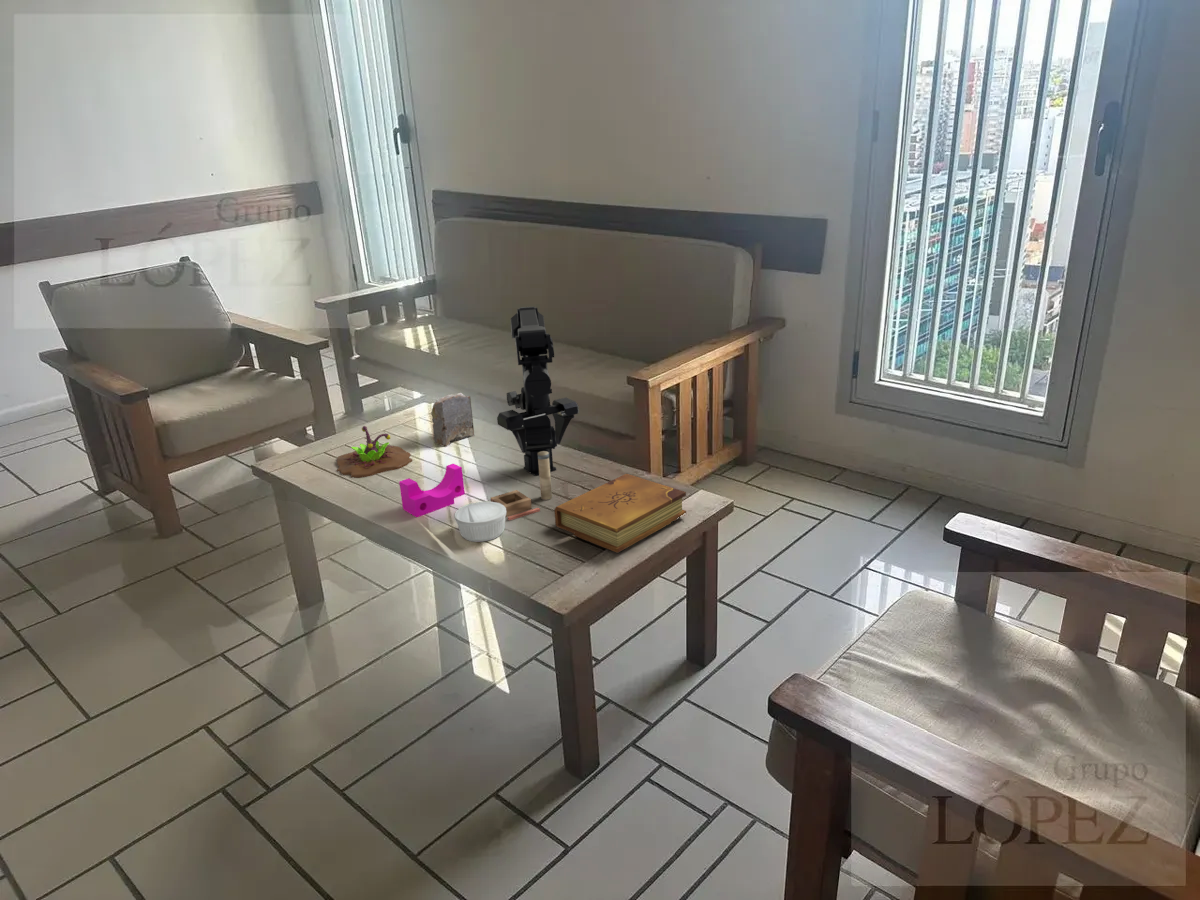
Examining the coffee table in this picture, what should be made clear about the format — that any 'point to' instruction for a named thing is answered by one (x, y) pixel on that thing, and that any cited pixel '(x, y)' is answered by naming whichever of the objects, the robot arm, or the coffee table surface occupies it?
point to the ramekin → (481, 521)
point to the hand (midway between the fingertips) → (541, 447)
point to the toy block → (432, 493)
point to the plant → (372, 458)
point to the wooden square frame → (515, 504)
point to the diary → (620, 512)
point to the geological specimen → (452, 419)
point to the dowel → (544, 475)
